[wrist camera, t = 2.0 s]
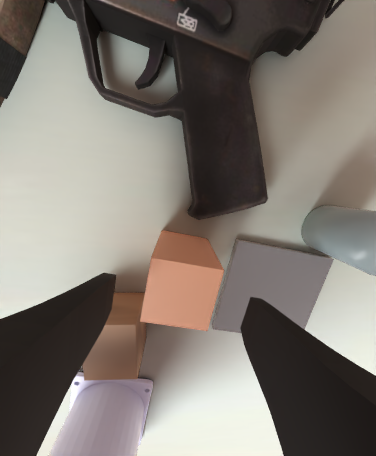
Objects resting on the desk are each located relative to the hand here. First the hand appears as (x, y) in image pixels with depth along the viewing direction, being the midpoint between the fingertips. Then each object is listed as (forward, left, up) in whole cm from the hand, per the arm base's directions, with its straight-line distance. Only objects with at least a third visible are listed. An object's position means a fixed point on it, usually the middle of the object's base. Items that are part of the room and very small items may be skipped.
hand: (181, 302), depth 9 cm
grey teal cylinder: (+5, -12, -7) cm, 15 cm away
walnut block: (-7, +4, -7) cm, 11 cm away
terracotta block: (0, 0, -7) cm, 7 cm away
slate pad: (-2, -9, -7) cm, 11 cm away
